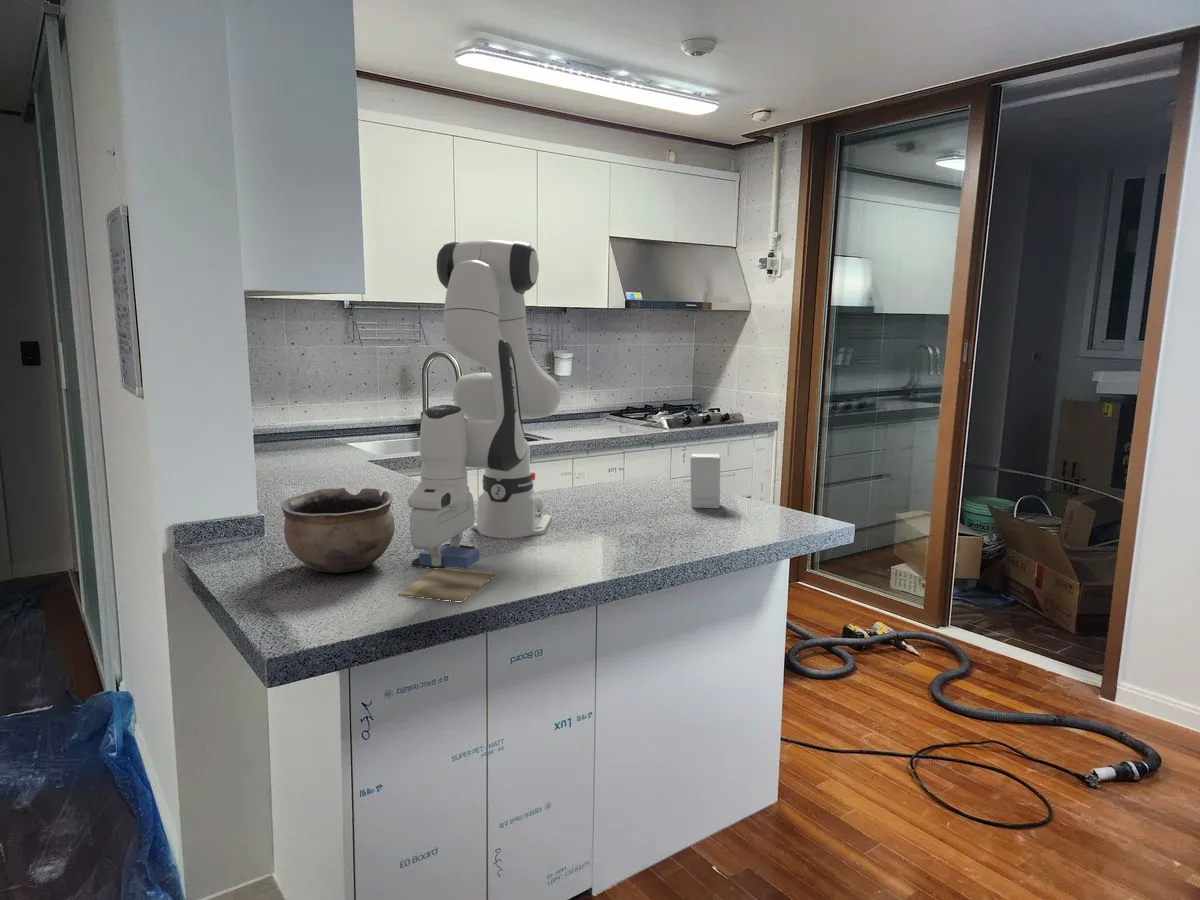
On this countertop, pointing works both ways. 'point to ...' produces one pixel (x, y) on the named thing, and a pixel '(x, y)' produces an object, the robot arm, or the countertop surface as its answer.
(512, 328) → the robot arm
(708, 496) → the skincare box
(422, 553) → the box
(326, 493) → the ceramic bowl
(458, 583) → the mat
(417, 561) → the phone
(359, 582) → the countertop surface
